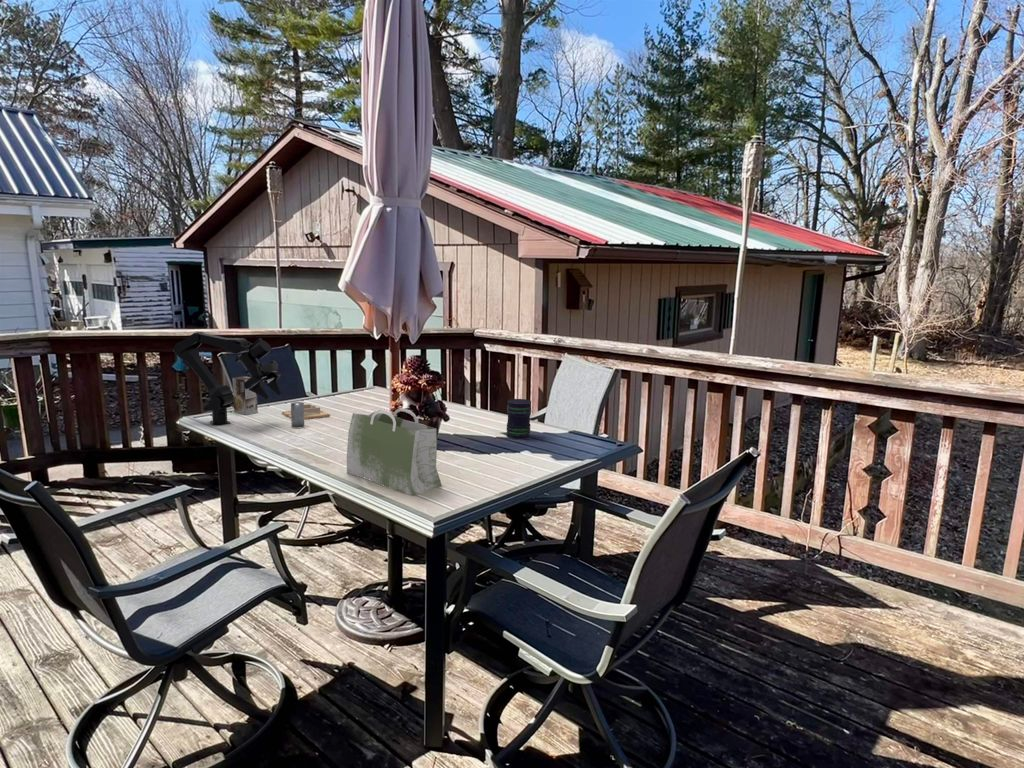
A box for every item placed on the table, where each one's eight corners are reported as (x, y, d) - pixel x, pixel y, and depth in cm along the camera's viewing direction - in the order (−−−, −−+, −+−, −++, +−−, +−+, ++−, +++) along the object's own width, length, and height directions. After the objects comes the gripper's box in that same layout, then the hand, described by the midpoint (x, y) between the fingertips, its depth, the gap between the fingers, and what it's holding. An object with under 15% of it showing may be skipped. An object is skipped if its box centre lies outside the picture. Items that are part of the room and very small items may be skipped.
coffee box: (258, 412, 286) (257, 377, 284) (245, 415, 281) (244, 379, 278) (246, 410, 291) (244, 375, 288) (233, 412, 286) (231, 377, 283)
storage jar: (502, 437, 258) (503, 401, 256) (512, 432, 267) (513, 397, 264) (524, 440, 254) (525, 404, 251) (533, 435, 263) (535, 400, 260)
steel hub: (289, 426, 265) (288, 402, 263) (301, 424, 268) (301, 401, 266) (294, 428, 261) (293, 405, 259) (306, 427, 264) (305, 403, 262)
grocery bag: (444, 485, 198) (446, 413, 194) (412, 496, 187) (413, 420, 183) (376, 464, 217) (376, 398, 213) (344, 473, 206) (343, 404, 202)
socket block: (282, 414, 286) (281, 405, 285) (316, 410, 296) (316, 401, 295) (295, 421, 273) (294, 412, 273) (330, 416, 283) (330, 408, 283)
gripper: (253, 357, 247) (276, 390, 248) (278, 351, 265) (299, 382, 266) (233, 372, 250) (256, 405, 250) (259, 366, 268) (280, 396, 268)
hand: (274, 396), depth 259 cm, fingers open, 9 cm apart
